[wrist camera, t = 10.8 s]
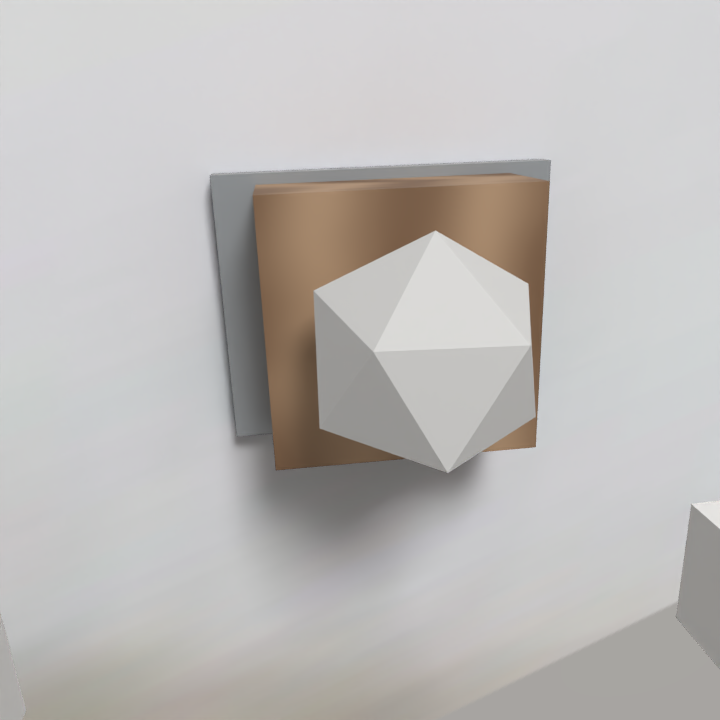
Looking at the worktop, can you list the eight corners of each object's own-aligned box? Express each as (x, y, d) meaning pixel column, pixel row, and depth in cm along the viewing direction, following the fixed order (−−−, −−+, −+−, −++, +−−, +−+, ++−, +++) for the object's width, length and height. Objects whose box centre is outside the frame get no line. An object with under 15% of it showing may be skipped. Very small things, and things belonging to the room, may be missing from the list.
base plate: (237, 426, 37) (236, 436, 35) (212, 173, 32) (209, 175, 31) (529, 402, 38) (537, 411, 37) (541, 158, 34) (550, 160, 33)
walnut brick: (275, 424, 35) (275, 470, 31) (255, 184, 32) (252, 195, 27) (501, 405, 37) (535, 447, 32) (509, 172, 33) (549, 180, 28)
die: (266, 279, 29) (273, 497, 23) (407, 140, 23) (458, 380, 18) (408, 340, 33) (441, 533, 28) (552, 236, 28) (626, 448, 23)
